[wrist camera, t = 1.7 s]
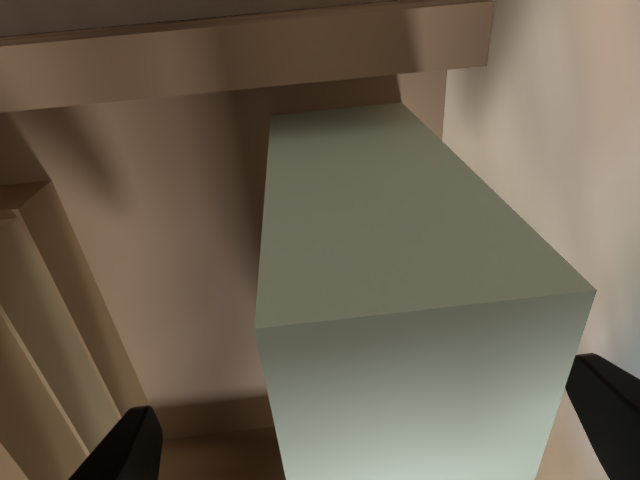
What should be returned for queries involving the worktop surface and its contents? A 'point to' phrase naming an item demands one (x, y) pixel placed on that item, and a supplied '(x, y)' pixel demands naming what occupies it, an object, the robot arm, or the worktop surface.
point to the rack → (205, 179)
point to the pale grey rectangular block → (405, 307)
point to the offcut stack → (53, 343)
